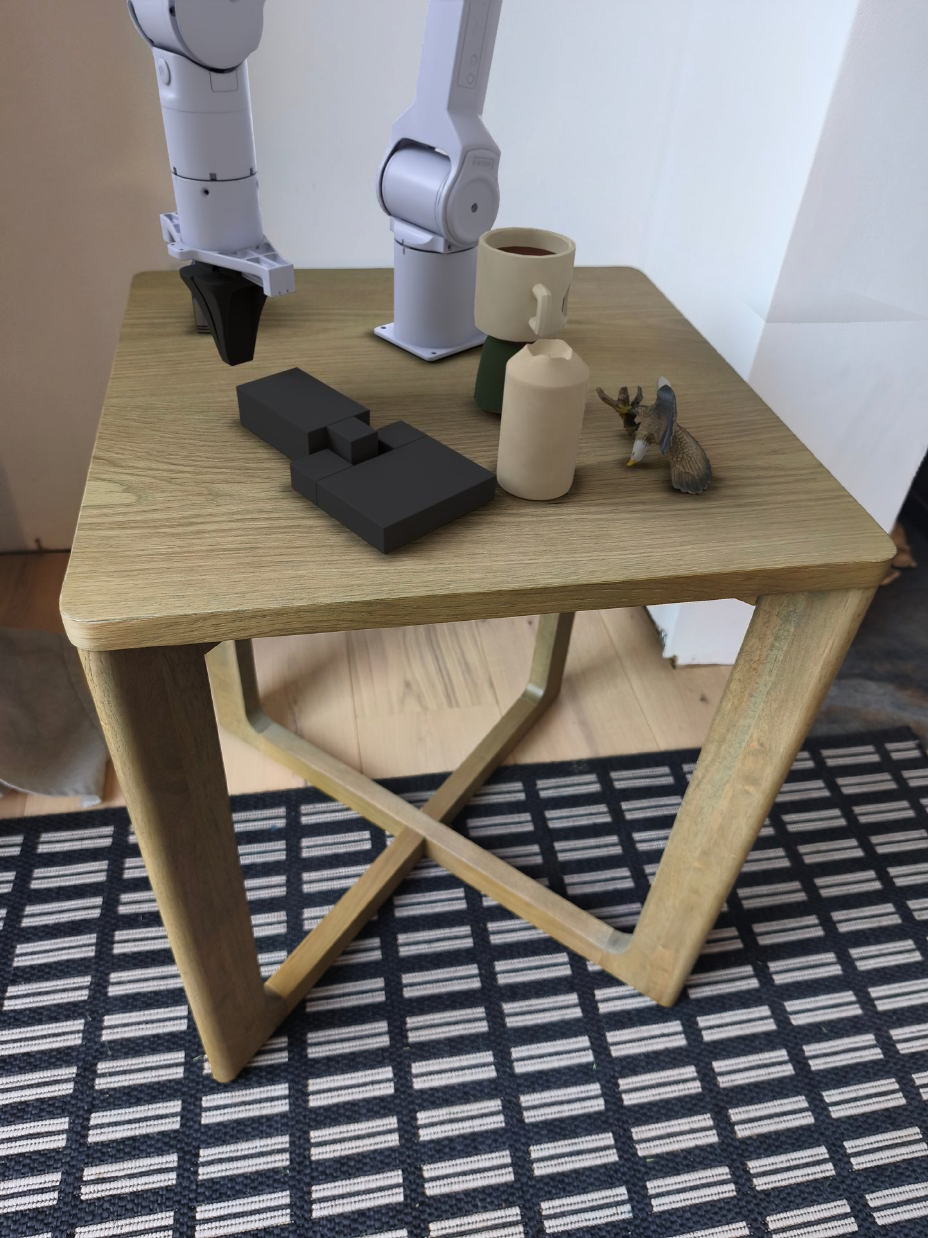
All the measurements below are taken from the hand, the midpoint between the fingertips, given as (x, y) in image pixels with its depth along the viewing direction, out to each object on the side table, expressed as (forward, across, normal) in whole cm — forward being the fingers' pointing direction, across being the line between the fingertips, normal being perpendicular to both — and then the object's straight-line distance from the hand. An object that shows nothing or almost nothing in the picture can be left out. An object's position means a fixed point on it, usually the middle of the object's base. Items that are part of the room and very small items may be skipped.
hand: (237, 360), depth 67 cm
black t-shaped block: (+3, +10, 0) cm, 10 cm away
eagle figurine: (+3, +28, +18) cm, 33 cm away
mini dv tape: (+3, -16, +7) cm, 17 cm away
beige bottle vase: (+3, +24, +9) cm, 26 cm away
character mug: (+3, +15, +16) cm, 22 cm away
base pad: (+3, +19, 0) cm, 19 cm away
